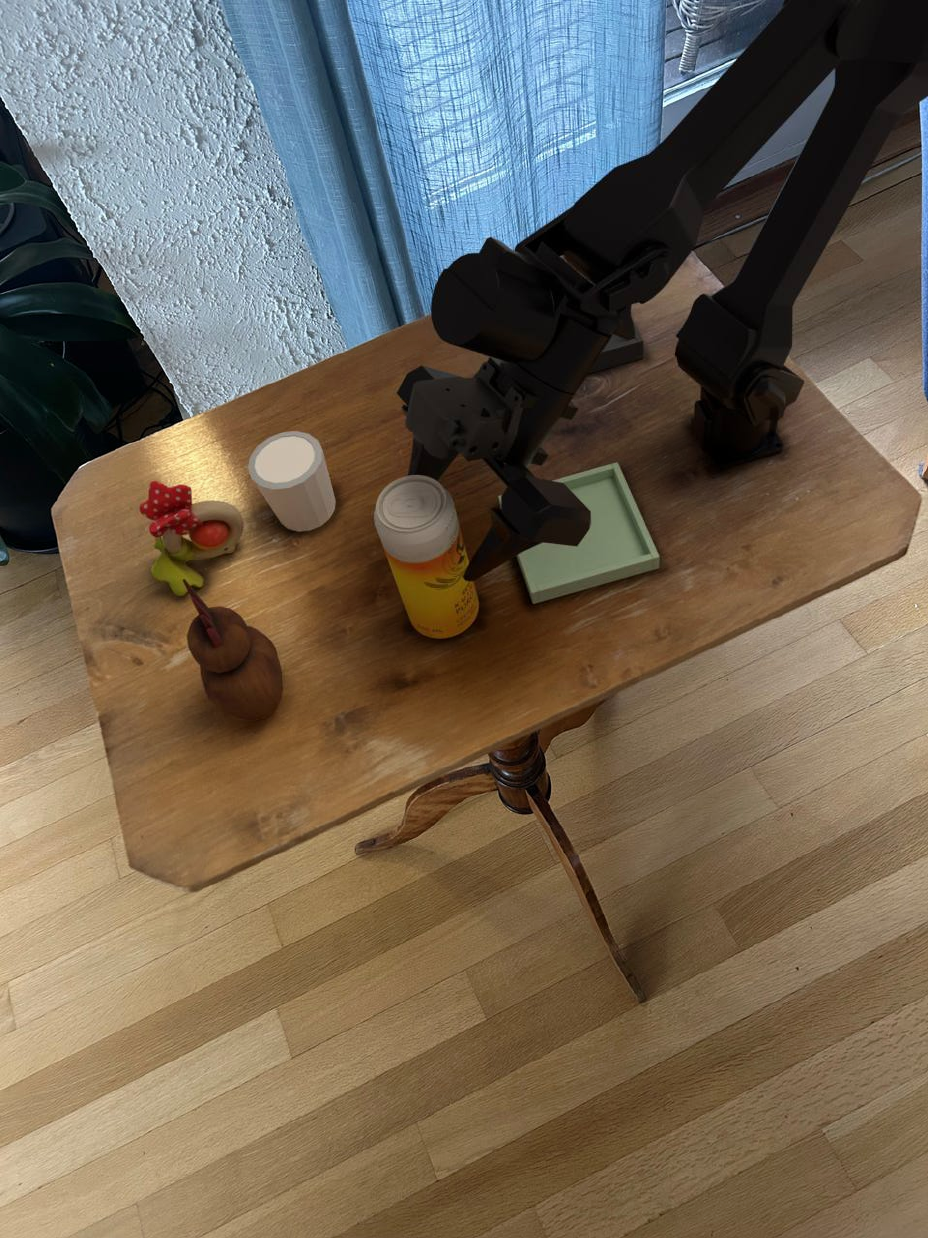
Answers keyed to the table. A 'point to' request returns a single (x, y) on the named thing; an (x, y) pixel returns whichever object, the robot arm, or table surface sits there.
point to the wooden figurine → (234, 662)
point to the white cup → (294, 479)
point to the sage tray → (593, 540)
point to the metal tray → (619, 352)
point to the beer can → (426, 555)
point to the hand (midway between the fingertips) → (436, 541)
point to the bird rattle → (188, 532)
